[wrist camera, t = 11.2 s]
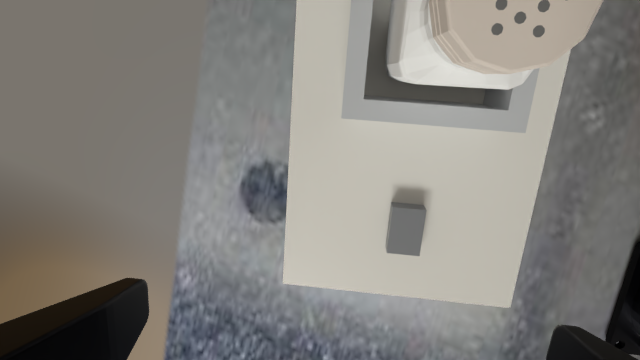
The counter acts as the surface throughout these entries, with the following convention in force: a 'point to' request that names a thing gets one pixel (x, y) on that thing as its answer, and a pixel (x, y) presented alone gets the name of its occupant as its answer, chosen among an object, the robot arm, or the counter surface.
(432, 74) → the pepper shaker
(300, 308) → the counter surface
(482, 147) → the outlet plate
